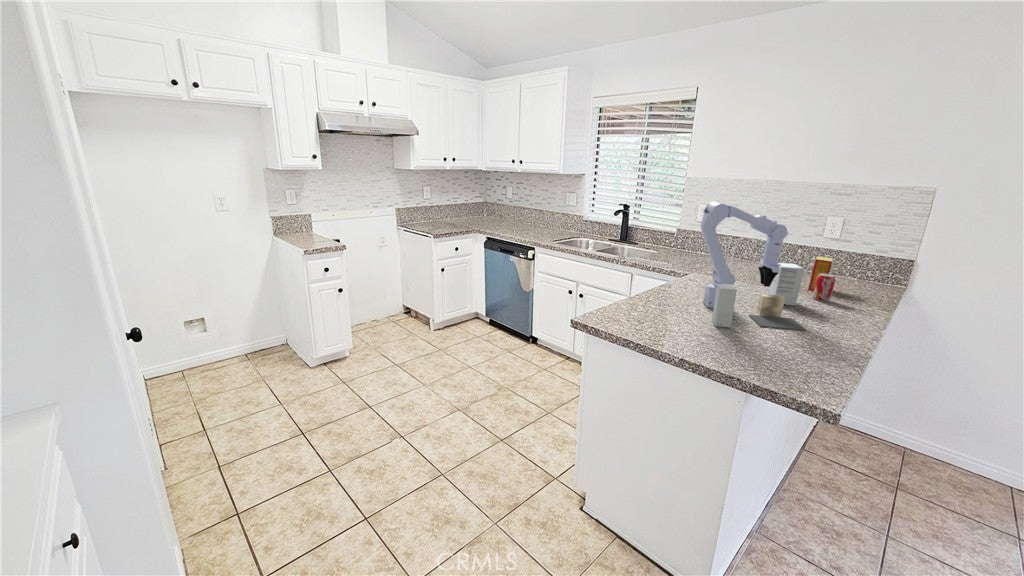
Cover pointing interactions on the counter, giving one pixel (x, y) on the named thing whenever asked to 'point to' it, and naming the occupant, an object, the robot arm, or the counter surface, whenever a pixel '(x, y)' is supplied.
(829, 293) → the soda can
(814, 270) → the baking soda box
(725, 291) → the skincare box
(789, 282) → the supplement box
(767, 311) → the maple slab
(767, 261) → the robot arm
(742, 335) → the counter surface
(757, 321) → the mat
